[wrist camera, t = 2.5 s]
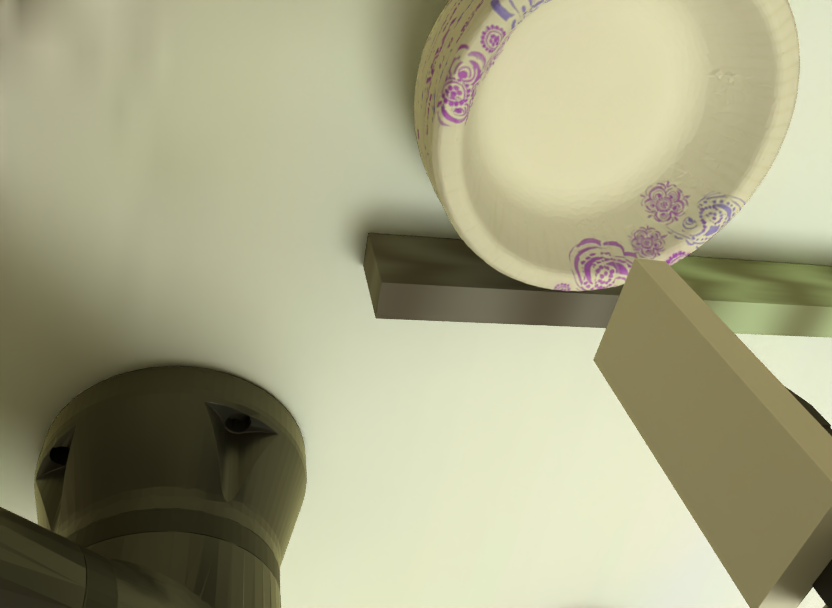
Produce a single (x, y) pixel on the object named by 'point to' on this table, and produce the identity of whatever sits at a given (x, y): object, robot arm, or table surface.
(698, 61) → the paper bowls
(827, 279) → the shallow tray
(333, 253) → the table surface
